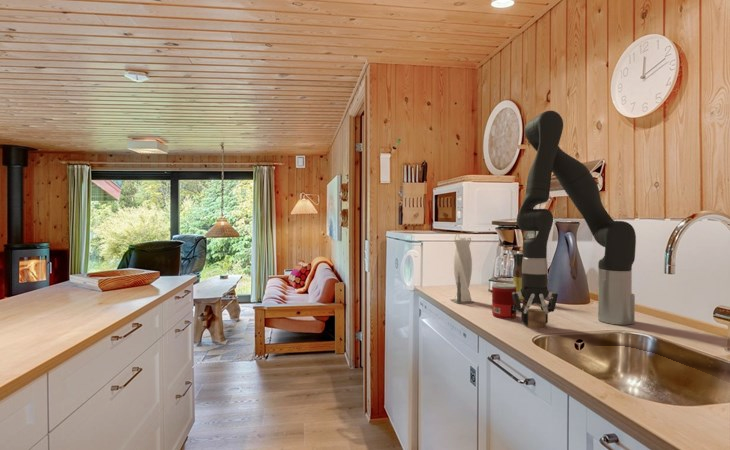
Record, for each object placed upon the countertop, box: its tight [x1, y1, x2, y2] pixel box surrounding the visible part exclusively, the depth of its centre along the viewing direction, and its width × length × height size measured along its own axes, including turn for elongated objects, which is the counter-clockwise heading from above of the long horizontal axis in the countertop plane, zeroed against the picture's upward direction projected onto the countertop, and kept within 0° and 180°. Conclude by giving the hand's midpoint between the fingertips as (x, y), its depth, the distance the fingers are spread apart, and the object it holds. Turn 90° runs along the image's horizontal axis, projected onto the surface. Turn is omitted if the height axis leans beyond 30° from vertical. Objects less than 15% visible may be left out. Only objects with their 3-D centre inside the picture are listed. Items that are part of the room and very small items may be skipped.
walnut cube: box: [525, 308, 547, 329], centre depth 123 cm, size 5×5×5 cm
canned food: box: [491, 282, 517, 320], centre depth 135 cm, size 8×8×11 cm
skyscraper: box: [449, 233, 475, 305], centre depth 159 cm, size 8×8×28 cm
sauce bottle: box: [512, 252, 524, 303], centre depth 158 cm, size 7×6×20 cm
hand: (534, 324), depth 123 cm, fingers closed on walnut cube, 5 cm apart
